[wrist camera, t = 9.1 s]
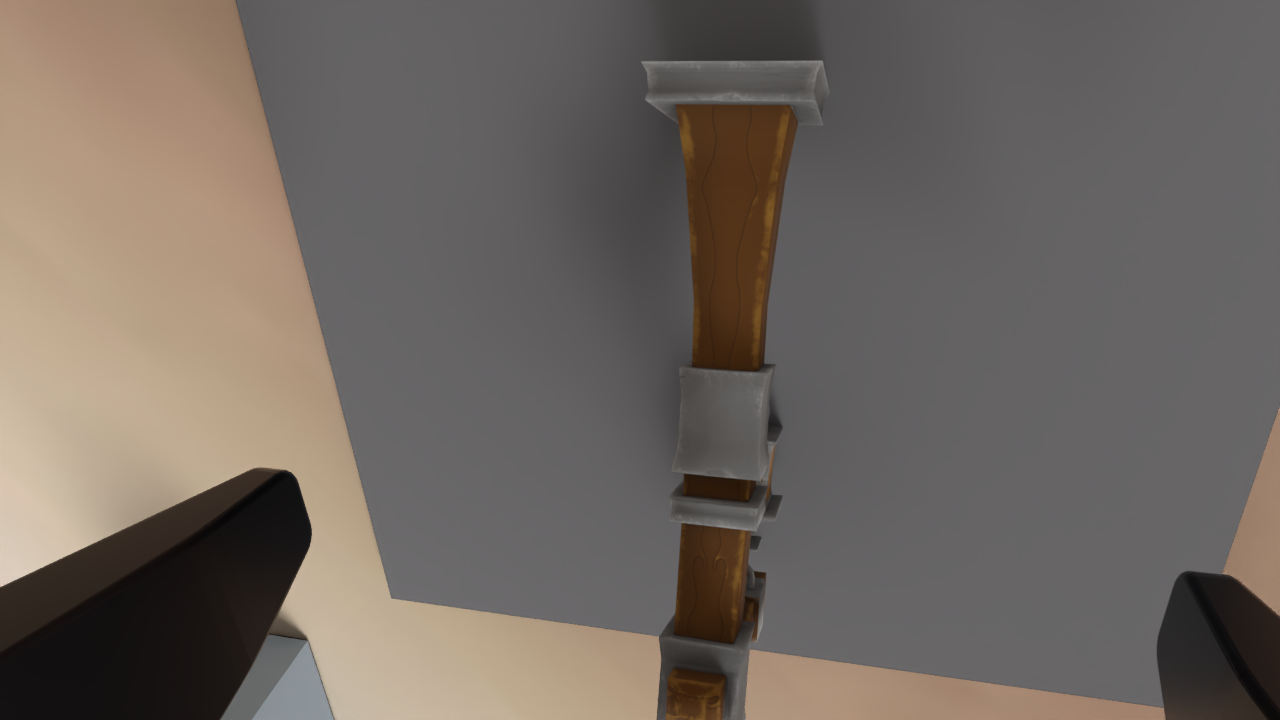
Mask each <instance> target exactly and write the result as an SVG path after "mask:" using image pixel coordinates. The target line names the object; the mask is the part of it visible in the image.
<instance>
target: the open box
mask: <svg viewBox="0 0 1280 720" xmlns="http://www.w3.org/2000/svg"><path fill="white" fill-rule="evenodd" d="M221 720H334V718H333V715H332V712H331V709H330V706H329V703H328V700H327V697H326V694H325V691H324V688H323V685H322V682H321V679H320V676H319V673H318V670H317V667H316V664H315V661H314V658H313V655H312V652H311V649H310V646H309V643H308V641H306V640H300V639H293V638H287V637H281V636H274V635H268V636H267V638H266V640H265V642H264V645H263V647H262V649H261V651H260V652H259V654H258V656H257V658H256V660H255V662H254V664H253V666H252V668H251V670H250V672H249V673H248V675H247V677H246V679H245V680H244V682H243V684H242V686H241V687H240V689H239V691H238V692H237V694H236V696H235V697H234V699H233V701H232V702H231V704H230V706H229V707H228V709H227V710H226V712H225V714H224V715H223V717H222V719H221Z"/></svg>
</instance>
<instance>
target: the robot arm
mask: <svg viewBox="0 0 1280 720" xmlns="http://www.w3.org/2000/svg"><path fill="white" fill-rule="evenodd" d="M311 536H312V529H311V523H310V520H309V517H308V513H307V510H306V507H305V504H304V500H303V497H302V494H301V490H300V487H299V484H298V481H297V479H296V477H295V476H294V475H293V474H292V473H291V472H289V471H287V470H280V469H271V468H254V469H251V470H249V471H247V472H245V473H243V474H241V475H238V476H236V477H234V478H232V479H230V480H228V481H226V482H224V483H221V484H219V485H217V486H215V487H213V488H211V489H209V490H207V491H204V492H202V493H200V494H198V495H196V496H194V497H192V498H189V499H187V500H185V501H183V502H181V503H179V504H177V505H175V506H172V507H170V508H168V509H166V510H164V511H162V512H160V513H158V514H155V515H153V516H151V517H149V518H147V519H145V520H143V521H141V522H138V523H136V524H134V525H132V526H130V527H128V528H126V529H123V530H121V531H119V532H117V533H115V534H113V535H111V536H109V537H106V538H104V539H102V540H100V541H98V542H96V543H94V544H92V545H89V546H87V547H85V548H83V549H81V550H79V551H77V552H74V553H72V554H70V555H68V556H66V557H64V558H62V559H60V560H57V561H55V562H53V563H51V564H49V565H47V566H45V567H43V568H40V569H38V570H36V571H34V572H32V573H30V574H28V575H25V576H23V577H21V578H19V579H17V580H15V581H13V582H11V583H8V584H6V585H4V586H2V587H0V720H221V719H222V717H223V715H224V714H225V712H226V710H227V709H228V707H229V706H230V704H231V702H232V701H233V699H234V697H235V696H236V694H237V692H238V691H239V689H240V687H241V686H242V684H243V682H244V680H245V679H246V677H247V675H248V673H249V672H250V670H251V668H252V666H253V664H254V662H255V660H256V658H257V656H258V654H259V652H260V651H261V649H262V647H263V645H264V642H265V640H266V638H267V636H268V634H269V632H270V630H271V628H272V626H273V623H274V621H275V619H276V617H277V615H278V613H279V611H280V609H281V607H282V604H283V602H284V600H285V598H286V596H287V594H288V592H289V590H290V588H291V585H292V583H293V581H294V579H295V577H296V575H297V573H298V571H299V569H300V566H301V564H302V562H303V560H304V558H305V556H306V554H307V552H308V549H309V546H310V543H311ZM1157 665H1158V671H1159V678H1160V685H1161V692H1162V698H1163V705H1164V712H1165V719H1166V720H1280V616H1279V615H1278V614H1277V613H1276V612H1274V611H1273V610H1272V609H1271V608H1270V607H1269V606H1268V605H1266V604H1265V603H1264V602H1263V601H1262V600H1261V599H1259V598H1258V597H1257V596H1256V595H1255V594H1254V593H1253V592H1251V591H1250V590H1249V589H1248V588H1247V587H1246V586H1245V585H1243V584H1242V583H1241V582H1240V581H1238V580H1237V579H1235V578H1234V577H1232V576H1229V575H1224V574H1215V573H1206V572H1197V571H1185V572H1183V573H1181V574H1180V575H1179V576H1178V577H1177V579H1176V580H1175V583H1174V586H1173V589H1172V592H1171V595H1170V598H1169V602H1168V605H1167V608H1166V611H1165V614H1164V618H1163V621H1162V624H1161V627H1160V630H1159V634H1158V639H1157Z"/></svg>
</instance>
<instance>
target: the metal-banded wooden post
mask: <svg viewBox="0 0 1280 720" xmlns="http://www.w3.org/2000/svg"><path fill="white" fill-rule="evenodd" d="M641 62H642V64H643V66H644V68H645V70H646V72H647V80H648V93H647V95H646V98H645V100H646V101H647V102H649V103H650V104H651V105H653V106H654V107H655V108H657V109H658V110H660V111H661V112H662V113H664V114H665V115H666V116H668V117H669V118H671V119H672V120H673V121H675V122H676V123H677V124H679V130H680V137H681V143H682V150H683V157H684V164H685V170H686V184H687V201H688V217H689V233H690V249H691V265H692V282H693V298H694V311H693V349H692V360H691V361H689V362H687V363H686V364H684V365H682V366H680V367H679V377H680V386H681V405H680V419H679V432H678V446H677V449H676V453H675V457H674V461H673V465H672V469H671V472H674V473H684V480H683V481H682V482H681V483H680V484H679V485H678V486H677V487H676V489H675V490H674V491H673V492H672V493H671V494H670V495H669V496H668V497H669V499H670V502H671V512H670V516H669V519H668V521H670V522H679V523H681V537H680V552H679V566H678V581H677V596H676V610H675V614H674V615H673V617H672V618H671V620H670V621H669V623H668V624H667V626H666V627H665V629H664V630H663V632H662V633H661V635H660V636H659V642H660V651H661V671H660V684H659V697H658V709H657V720H746V717H745V697H746V685H747V673H748V661H749V649H750V642H757V641H758V638H759V635H760V632H761V628H762V624H763V608H764V603H765V587H766V572H758V571H753V568H752V567H751V566H750V565H749V564H748V560H749V554H751V553H754V552H757V551H758V549H759V546H760V543H761V541H762V537H760V536H756V535H755V534H756V532H757V529H758V527H759V524H761V523H764V522H771V521H776V518H777V515H778V512H779V510H780V507H781V504H782V498H783V495H774V494H772V490H771V481H772V473H773V464H774V456H775V447H776V444H777V442H778V440H779V438H780V436H781V434H782V429H783V427H779V426H768V420H769V417H770V406H769V401H770V388H771V384H772V379H773V375H774V371H775V367H776V364H765V363H764V358H765V343H766V328H767V313H768V300H769V293H770V286H771V279H772V272H773V265H774V258H775V251H776V244H777V237H778V230H779V223H780V216H781V209H782V202H783V195H784V188H785V181H786V177H787V172H788V168H789V163H790V158H791V154H792V149H793V145H794V140H795V136H796V131H797V126H798V125H819V126H823V121H822V112H823V106H824V101H825V100H826V98H827V97H828V95H829V94H830V92H829V88H828V83H827V78H826V74H825V69H824V64H823V61H641Z"/></svg>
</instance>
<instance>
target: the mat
mask: <svg viewBox="0 0 1280 720" xmlns="http://www.w3.org/2000/svg"><path fill="white" fill-rule="evenodd" d="M236 3H237V7H238V11H239V15H240V19H241V23H242V27H243V30H244V34H245V38H246V42H247V46H248V50H249V53H250V57H251V61H252V65H253V69H254V73H255V76H256V80H257V84H258V88H259V92H260V96H261V99H262V103H263V107H264V111H265V115H266V119H267V123H268V126H269V130H270V134H271V138H272V142H273V146H274V149H275V153H276V157H277V161H278V165H279V169H280V172H281V176H282V180H283V184H284V188H285V192H286V195H287V199H288V203H289V207H290V211H291V215H292V219H293V222H294V226H295V230H296V234H297V238H298V242H299V245H300V249H301V253H302V257H303V261H304V265H305V268H306V272H307V276H308V280H309V284H310V288H311V292H312V295H313V299H314V303H315V307H316V311H317V315H318V318H319V322H320V326H321V330H322V334H323V338H324V341H325V345H326V349H327V353H328V357H329V361H330V364H331V368H332V372H333V376H334V380H335V384H336V388H337V391H338V395H339V399H340V403H341V407H342V411H343V414H344V418H345V422H346V426H347V430H348V434H349V437H350V441H351V445H352V449H353V453H354V457H355V460H356V464H357V468H358V472H359V476H360V480H361V484H362V487H363V491H364V495H365V499H366V503H367V507H368V510H369V514H370V518H371V522H372V526H373V530H374V533H375V537H376V541H377V545H378V549H379V553H380V556H381V560H382V564H383V568H384V572H385V576H386V580H387V583H388V587H389V591H390V595H391V598H392V599H400V600H407V601H414V602H421V603H428V604H435V605H442V606H449V607H456V608H463V609H470V610H477V611H484V612H491V613H498V614H505V615H512V616H520V617H527V618H534V619H541V620H548V621H555V622H562V623H569V624H576V625H583V626H590V627H597V628H604V629H611V630H618V631H625V632H632V633H640V634H647V635H654V636H660V635H661V633H662V632H663V630H664V629H665V627H666V626H667V624H668V623H669V621H670V620H671V618H672V617H673V615H674V614H675V610H676V596H677V581H678V566H679V552H680V537H681V523H679V522H670V521H668V519H669V516H670V512H671V502H670V499H669V497H668V496H669V495H670V494H671V493H672V492H673V491H674V490H675V489H676V487H677V486H678V485H679V484H680V483H681V482H682V481H683V480H684V473H674V472H671V469H672V465H673V461H674V457H675V453H676V449H677V446H678V432H679V419H680V405H681V386H680V377H679V367H680V366H682V365H684V364H686V363H687V362H689V361H691V360H692V349H693V311H694V298H693V282H692V265H691V249H690V233H689V217H688V201H687V184H686V170H685V164H684V157H683V150H682V143H681V137H680V130H679V124H677V123H676V122H675V121H673V120H672V119H671V118H669V117H668V116H666V115H665V114H664V113H662V112H661V111H660V110H658V109H657V108H655V107H654V106H653V105H651V104H650V103H649V102H647V101H646V100H645V98H646V95H647V93H648V80H647V72H646V70H645V68H644V66H643V64H642V62H641V61H823V64H824V69H825V74H826V78H827V83H828V88H829V92H830V94H829V95H828V97H827V98H826V100H825V101H824V106H823V112H822V121H823V126H819V125H798V126H797V131H796V136H795V140H794V145H793V149H792V154H791V158H790V163H789V168H788V172H787V177H786V181H785V188H784V195H783V202H782V209H781V216H780V223H779V230H778V237H777V244H776V251H775V258H774V265H773V272H772V279H771V286H770V293H769V300H768V313H767V328H766V343H765V358H764V363H765V364H776V367H775V371H774V375H773V379H772V384H771V388H770V401H769V406H770V417H769V420H768V426H779V427H783V429H782V434H781V436H780V438H779V440H778V442H777V444H776V447H775V456H774V464H773V473H772V481H771V490H772V494H774V495H783V498H782V504H781V507H780V510H779V512H778V515H777V518H776V521H771V522H764V523H761V524H759V527H758V529H757V532H756V534H755V535H756V536H760V537H762V541H761V543H760V546H759V549H758V551H757V552H754V553H751V554H749V560H748V564H749V565H750V566H751V567H752V568H753V571H758V572H766V587H765V603H764V608H763V624H762V628H761V632H760V635H759V638H758V641H757V642H750V649H752V650H760V651H767V652H774V653H781V654H788V655H795V656H802V657H809V658H816V659H823V660H830V661H837V662H844V663H851V664H858V665H865V666H872V667H880V668H887V669H894V670H901V671H908V672H915V673H922V674H929V675H936V676H943V677H950V678H957V679H964V680H971V681H978V682H985V683H992V684H999V685H1007V686H1014V687H1021V688H1028V689H1035V690H1042V691H1049V692H1056V693H1063V694H1070V695H1077V696H1084V697H1091V698H1098V699H1105V700H1112V701H1119V702H1127V703H1134V704H1141V705H1148V706H1155V707H1162V708H1164V705H1163V698H1162V692H1161V685H1160V678H1159V671H1158V665H1157V639H1158V634H1159V630H1160V627H1161V624H1162V621H1163V618H1164V614H1165V611H1166V608H1167V605H1168V602H1169V598H1170V595H1171V592H1172V589H1173V586H1174V583H1175V580H1176V579H1177V577H1178V576H1179V575H1180V574H1181V573H1183V572H1185V571H1197V572H1206V573H1215V574H1222V572H1223V569H1224V566H1225V563H1226V560H1227V558H1228V555H1229V552H1230V549H1231V546H1232V543H1233V540H1234V537H1235V534H1236V531H1237V528H1238V525H1239V523H1240V520H1241V517H1242V514H1243V511H1244V508H1245V505H1246V502H1247V499H1248V496H1249V493H1250V490H1251V488H1252V485H1253V482H1254V479H1255V476H1256V473H1257V470H1258V467H1259V464H1260V461H1261V458H1262V455H1263V452H1264V450H1265V447H1266V444H1267V441H1268V438H1269V435H1270V432H1271V429H1272V426H1273V423H1274V420H1275V417H1276V415H1277V412H1278V409H1279V406H1280V0H236Z"/></svg>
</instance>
